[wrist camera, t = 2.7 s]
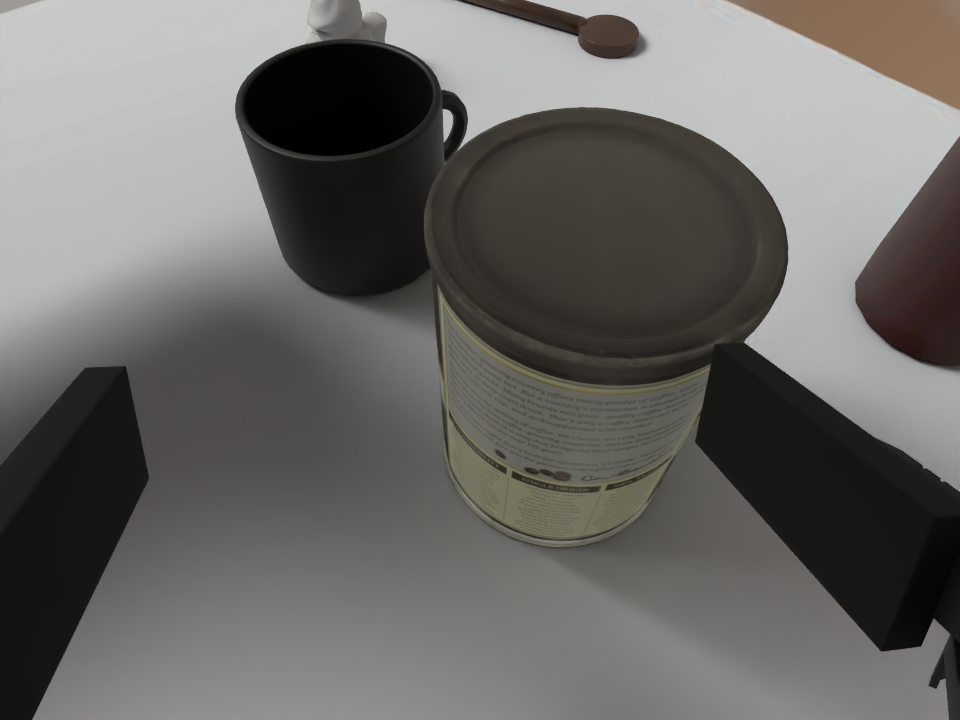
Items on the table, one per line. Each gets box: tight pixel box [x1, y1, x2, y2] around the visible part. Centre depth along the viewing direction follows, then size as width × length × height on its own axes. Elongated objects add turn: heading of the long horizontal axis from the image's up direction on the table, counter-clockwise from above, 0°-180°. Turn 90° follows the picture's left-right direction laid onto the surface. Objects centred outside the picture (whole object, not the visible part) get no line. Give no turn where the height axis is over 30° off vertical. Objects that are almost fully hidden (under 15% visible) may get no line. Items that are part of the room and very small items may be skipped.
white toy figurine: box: [306, 0, 387, 44], centre depth 42 cm, size 5×7×8 cm
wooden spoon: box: [463, 0, 639, 58], centre depth 51 cm, size 19×4×1 cm, turn 62°
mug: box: [235, 39, 468, 295], centre depth 34 cm, size 9×12×9 cm
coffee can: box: [424, 107, 788, 547], centre depth 24 cm, size 10×10×14 cm
